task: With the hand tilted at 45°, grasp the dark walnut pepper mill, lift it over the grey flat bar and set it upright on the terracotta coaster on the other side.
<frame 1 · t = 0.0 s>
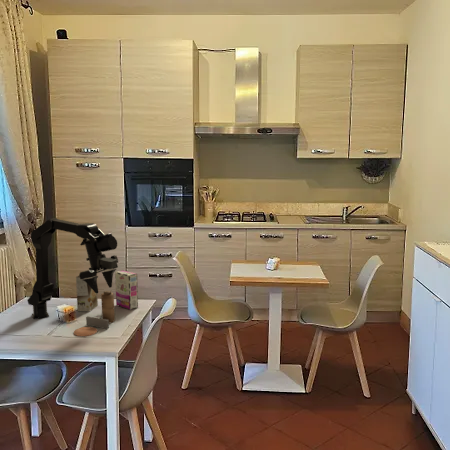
hand: (104, 290, 199), 15 cm above the table, tool pointing down, fingers open, 9 cm apart
coaster: (85, 332, 195), on the table
candy bar box: (127, 306, 227), on the table
walnut mill: (108, 321, 207), on the table
grey flat bar: (97, 326, 201), on the table
coffee box: (87, 308, 225), on the table
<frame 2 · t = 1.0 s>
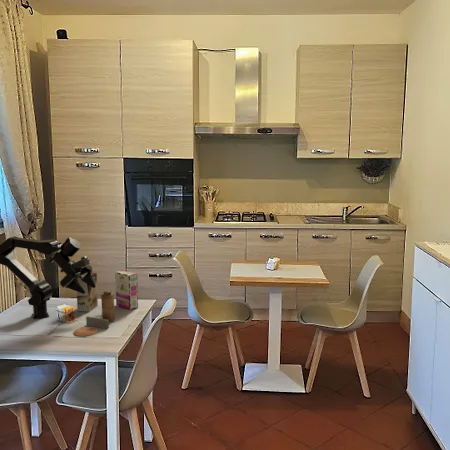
hand: (89, 290, 207), 13 cm above the table, tool tilted 45°, fingers open, 9 cm apart
nothing on the table moved.
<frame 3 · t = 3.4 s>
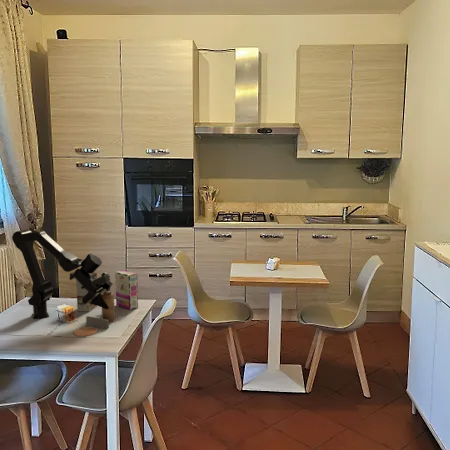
hand: (111, 306, 206), 7 cm above the table, tool tilted 45°, fingers closed on walnut mill, 5 cm apart
walnut mill: (108, 321, 207), on the table, touching gripper
everything else where it was.
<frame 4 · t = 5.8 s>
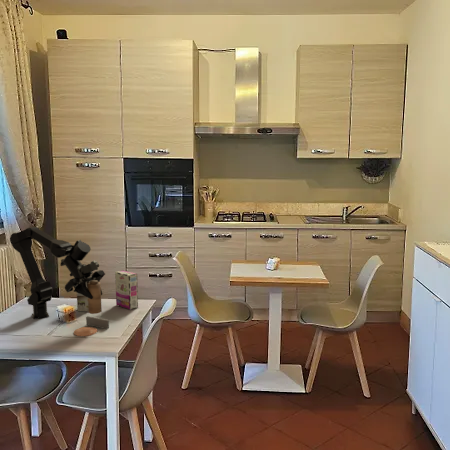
hand: (97, 296, 197), 13 cm above the table, tool tilted 45°, fingers closed on walnut mill, 5 cm apart
walnut mill: (95, 311, 199), point 7 cm above the table, touching gripper
everything else where it was.
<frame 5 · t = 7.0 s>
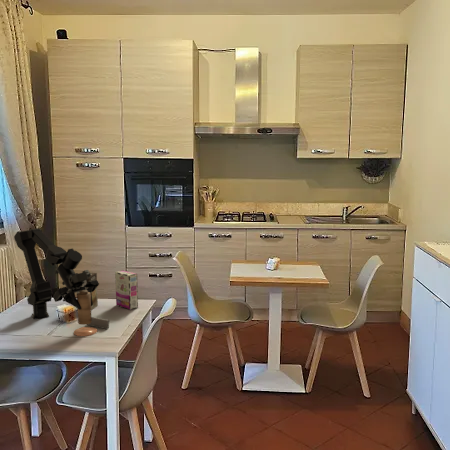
hand: (86, 307, 192), 11 cm above the table, tool tilted 45°, fingers closed on walnut mill, 5 cm apart
walnut mill: (84, 322, 194), point 4 cm above the table, touching gripper
everything else where it was.
when the fingers open (8 cm above the table, at t = 8.0 s): walnut mill stays where it is, resting on coaster.
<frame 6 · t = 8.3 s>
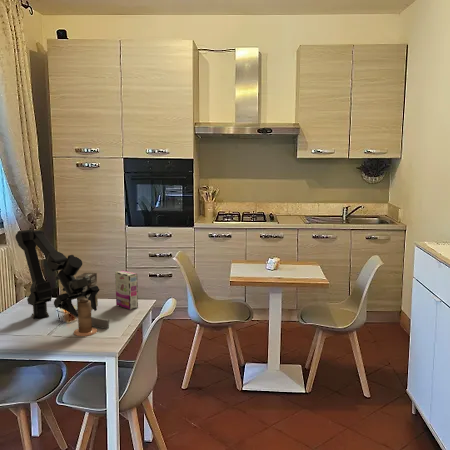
hand: (86, 313, 193), 8 cm above the table, tool tilted 45°, fingers open, 9 cm apart
walnut mill: (85, 330, 195), point 1 cm above the table, touching coaster
everything else where it was.
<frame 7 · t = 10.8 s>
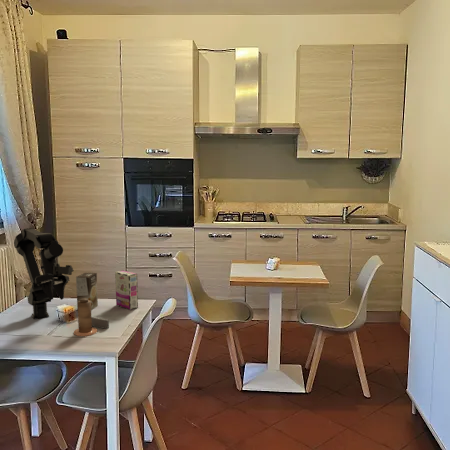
hand: (57, 299, 197), 12 cm above the table, tool tilted 25°, fingers open, 9 cm apart
nothing on the table moved.
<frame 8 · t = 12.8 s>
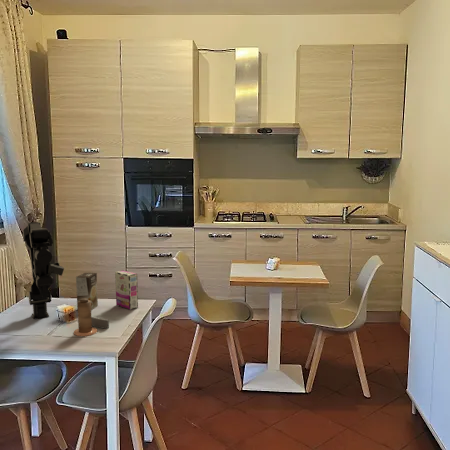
hand: (43, 296, 199), 13 cm above the table, tool pointing down, fingers open, 9 cm apart
nothing on the table moved.
at the end: walnut mill 0.1 cm off-centre on the coaster, point 0.6 cm above the coaster's base; walnut mill tilted 0°; the gripper is holding nothing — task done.
